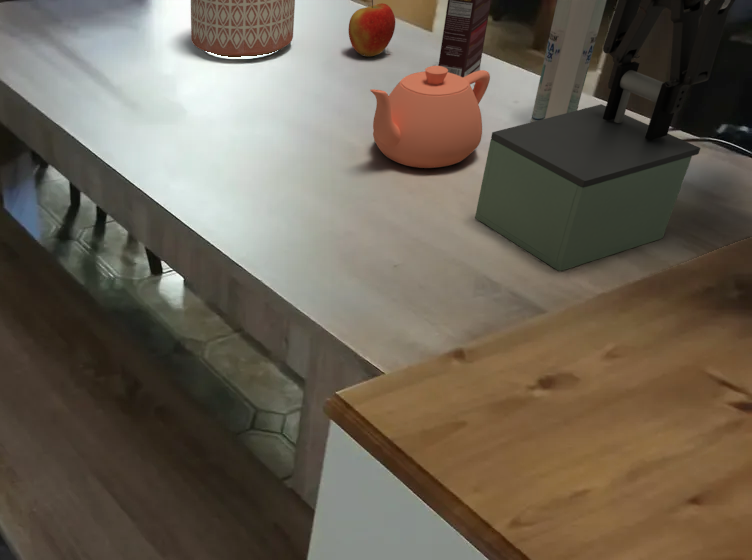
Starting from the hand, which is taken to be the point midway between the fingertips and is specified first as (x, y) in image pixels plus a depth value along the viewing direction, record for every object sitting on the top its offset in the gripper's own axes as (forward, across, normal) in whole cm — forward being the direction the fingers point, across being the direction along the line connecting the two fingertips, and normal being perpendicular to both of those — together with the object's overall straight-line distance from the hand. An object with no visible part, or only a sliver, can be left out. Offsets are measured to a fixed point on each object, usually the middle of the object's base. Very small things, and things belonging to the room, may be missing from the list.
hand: (634, 126), depth 113 cm
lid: (+1, 0, -6) cm, 6 cm away
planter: (+12, -83, -9) cm, 84 cm away
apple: (+12, -67, +8) cm, 68 cm away
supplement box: (+12, -50, +15) cm, 53 cm away
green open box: (+12, 0, -7) cm, 14 cm away
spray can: (+12, -26, +14) cm, 32 cm away
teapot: (+12, -27, -9) cm, 31 cm away
